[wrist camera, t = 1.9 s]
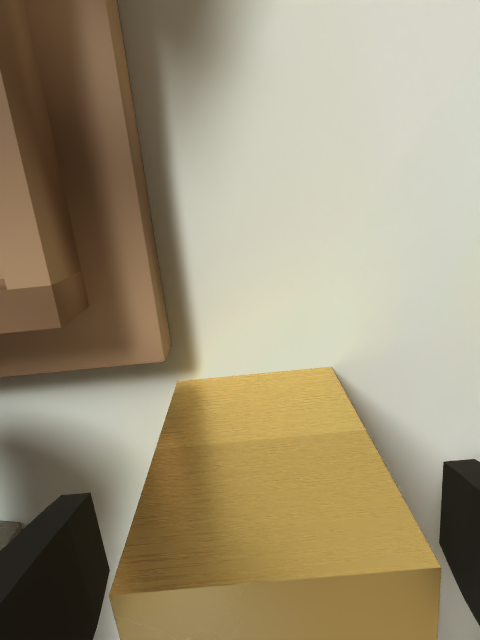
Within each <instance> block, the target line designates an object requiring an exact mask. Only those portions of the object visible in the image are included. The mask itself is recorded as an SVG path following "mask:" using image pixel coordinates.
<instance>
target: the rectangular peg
mask: <svg viewBox="0 0 480 640" xmlns="http://www.w3.org/2000/svg"><path fill="white" fill-rule="evenodd" d="M440 580H441V566H440V564H439V563H438V561H437V559H436V557H435V555H434V553H433V552H432V550H431V548H430V546H429V544H428V542H427V541H426V539H425V537H424V535H423V533H422V532H421V530H420V528H419V526H418V524H417V522H416V521H415V519H414V517H413V515H412V513H411V511H410V510H409V508H408V506H407V504H406V502H405V501H404V499H403V497H402V495H401V493H400V491H399V490H398V488H397V486H396V484H395V482H394V480H393V479H392V477H391V475H390V473H389V471H388V470H387V468H386V466H385V464H384V462H383V460H382V459H381V457H380V455H379V453H378V451H377V449H376V448H375V446H374V444H373V442H372V440H371V439H370V437H369V435H368V433H367V431H366V429H365V428H364V426H363V424H362V422H361V420H360V418H359V417H358V415H357V413H356V411H355V409H354V408H353V406H352V404H351V402H350V400H349V398H348V397H347V395H346V393H345V391H344V389H343V387H342V386H341V384H340V382H339V380H338V378H337V377H336V375H335V373H334V371H333V369H332V367H324V368H314V369H303V370H293V371H282V372H272V373H261V374H251V375H240V376H230V377H219V378H209V379H198V380H188V381H177V384H176V387H175V390H174V393H173V397H172V400H171V403H170V406H169V409H168V412H167V415H166V418H165V422H164V425H163V428H162V431H161V434H160V437H159V440H158V443H157V447H156V450H155V453H154V456H153V459H152V462H151V465H150V468H149V472H148V475H147V478H146V481H145V484H144V487H143V490H142V493H141V497H140V500H139V503H138V506H137V509H136V512H135V515H134V518H133V522H132V525H131V528H130V531H129V534H128V537H127V540H126V544H125V547H124V550H123V553H122V556H121V559H120V562H119V565H118V569H117V572H116V575H115V578H114V581H113V584H112V587H111V590H110V594H109V598H110V602H111V605H112V609H113V613H114V617H115V621H116V625H117V629H118V633H119V637H120V640H437V638H438V619H439V600H440Z"/></svg>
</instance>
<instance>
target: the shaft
mask: <svg viewBox="0 0 480 640" xmlns="http://www.w3.org/2000/svg"><path fill="white" fill-rule="evenodd" d="M20 532H21V523H20V522H2V521H0V551H1V550H2V549H3V548H4V547H5V546H6V545H7V544H8V543H9V542H10V541H11V540H13V539H14V538H15V537H16V536H17V535H18V534H19V533H20Z"/></svg>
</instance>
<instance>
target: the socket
mask: <svg viewBox="0 0 480 640" xmlns="http://www.w3.org/2000/svg"><path fill="white" fill-rule="evenodd" d="M170 348H171V341H170V334H169V328H168V322H167V315H166V309H165V303H164V296H163V290H162V284H161V277H160V271H159V265H158V258H157V252H156V245H155V239H154V233H153V226H152V220H151V214H150V207H149V201H148V195H147V188H146V182H145V176H144V169H143V163H142V157H141V150H140V144H139V138H138V131H137V125H136V119H135V112H134V106H133V100H132V93H131V87H130V81H129V74H128V68H127V62H126V55H125V49H124V43H123V36H122V30H121V24H120V17H119V11H118V5H117V0H0V377H8V376H18V375H29V374H39V373H50V372H60V371H71V370H81V369H91V368H102V367H112V366H123V365H133V364H144V363H154V362H164V361H165V360H166V357H167V355H168V353H169V350H170Z"/></svg>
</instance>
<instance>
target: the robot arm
mask: <svg viewBox="0 0 480 640" xmlns="http://www.w3.org/2000/svg"><path fill="white" fill-rule="evenodd" d="M439 543H440V546H441V548H442V550H443V553H444V555H445V557H446V560H447V562H448V564H449V566H450V569H451V571H452V573H453V576H454V578H455V580H456V582H457V584H458V586H459V589H460V591H461V593H462V595H463V597H464V599H465V601H466V603H467V604H468V606H469V608H470V610H471V612H472V613H473V615H474V617H475V619H476V620H477V622H478V624H479V626H480V462H479V461H477V460H475V459H470V460H458V461H447V462H444V465H443V483H442V502H441V521H440V539H439ZM109 571H110V570H109V566H108V562H107V558H106V554H105V550H104V546H103V542H102V538H101V534H100V530H99V525H98V521H97V517H96V513H95V509H94V505H93V501H92V497H91V493H83V494H71V495H61V496H60V497H59V498H58V499H56V500H55V501H54V502H53V503H52V504H51V505H49V506H48V507H47V508H46V509H45V510H44V511H43V512H42V513H41V514H40V515H38V516H37V517H36V518H35V519H34V520H33V521H32V522H31V523H30V524H29V525H28V526H27V527H25V528H24V529H23V530H22V531H21V532H20V533H19V534H18V535H17V536H16V537H15V538H14V539H13V540H11V541H10V542H9V543H8V544H7V545H6V546H5V547H4V548H3V549H2V550H1V551H0V640H93V637H94V634H95V631H96V628H97V624H98V620H99V616H100V612H101V608H102V603H103V599H104V594H105V590H106V585H107V580H108V576H109Z"/></svg>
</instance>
